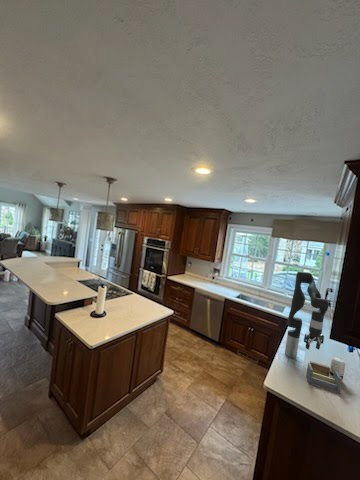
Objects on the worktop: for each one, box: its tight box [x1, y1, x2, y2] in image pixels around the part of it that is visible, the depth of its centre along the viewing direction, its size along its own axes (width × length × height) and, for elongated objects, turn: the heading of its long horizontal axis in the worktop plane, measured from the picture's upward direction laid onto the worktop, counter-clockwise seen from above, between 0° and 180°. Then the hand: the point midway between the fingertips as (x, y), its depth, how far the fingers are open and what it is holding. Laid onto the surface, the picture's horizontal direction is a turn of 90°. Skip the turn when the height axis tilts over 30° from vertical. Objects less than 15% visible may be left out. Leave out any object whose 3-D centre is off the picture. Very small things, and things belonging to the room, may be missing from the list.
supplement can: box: [329, 356, 346, 383], centre depth 156 cm, size 8×8×15 cm
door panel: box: [309, 361, 330, 377], centre depth 157 cm, size 3×12×9 cm, turn 69°
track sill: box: [305, 362, 342, 394], centre depth 148 cm, size 9×18×10 cm, turn 69°
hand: (312, 348), depth 148 cm, fingers open, 8 cm apart
